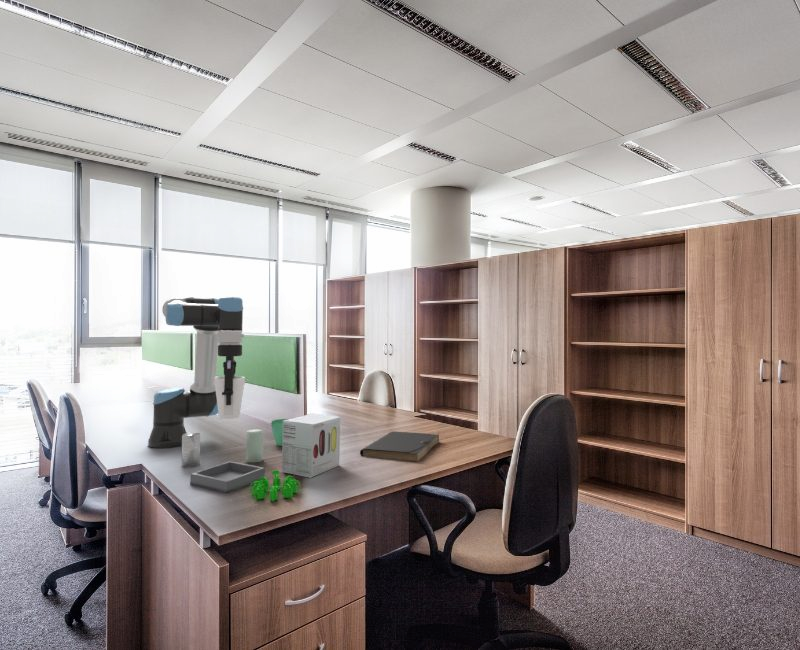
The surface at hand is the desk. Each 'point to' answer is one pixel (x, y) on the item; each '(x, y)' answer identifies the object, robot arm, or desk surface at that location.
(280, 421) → the mug
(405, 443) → the dark grey book
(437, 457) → the desk surface
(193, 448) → the steel canister
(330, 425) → the supplement box
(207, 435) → the desk surface
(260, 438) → the sage canister
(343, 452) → the desk surface
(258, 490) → the green leafy sprig
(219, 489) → the tray
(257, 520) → the desk surface
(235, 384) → the foam cup
